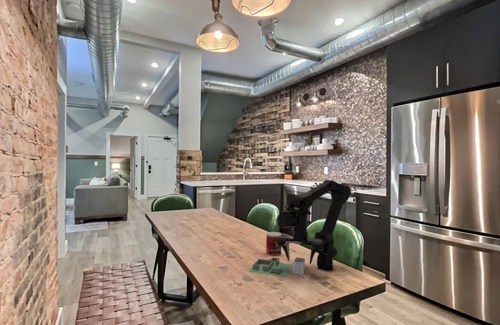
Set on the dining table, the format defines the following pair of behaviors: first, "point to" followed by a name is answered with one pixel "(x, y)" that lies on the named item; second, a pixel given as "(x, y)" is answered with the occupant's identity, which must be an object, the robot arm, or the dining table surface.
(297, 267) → the plug
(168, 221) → the dining table surface
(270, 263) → the grey square frame
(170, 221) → the dining table surface
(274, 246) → the canned food
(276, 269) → the board
